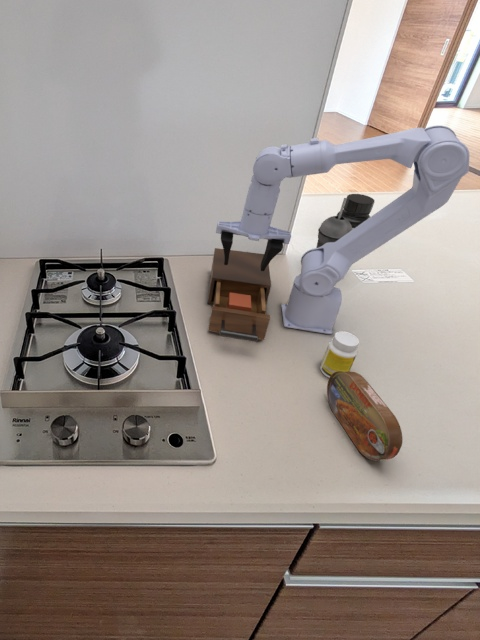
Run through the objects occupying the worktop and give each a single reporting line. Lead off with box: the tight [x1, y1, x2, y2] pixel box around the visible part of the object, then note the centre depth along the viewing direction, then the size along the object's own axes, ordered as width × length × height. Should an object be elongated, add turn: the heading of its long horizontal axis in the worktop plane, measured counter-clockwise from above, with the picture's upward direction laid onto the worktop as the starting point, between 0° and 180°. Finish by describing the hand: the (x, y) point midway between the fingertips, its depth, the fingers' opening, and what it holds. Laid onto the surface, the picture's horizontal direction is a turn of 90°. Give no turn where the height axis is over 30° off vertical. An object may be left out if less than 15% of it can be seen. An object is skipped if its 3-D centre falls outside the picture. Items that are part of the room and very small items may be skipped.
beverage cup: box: [315, 197, 352, 248], centre depth 105 cm, size 7×7×20 cm
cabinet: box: [207, 247, 272, 306], centre depth 102 cm, size 13×12×7 cm
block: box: [227, 293, 251, 312], centre depth 92 cm, size 4×4×4 cm
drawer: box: [207, 281, 271, 343], centre depth 91 cm, size 17×11×6 cm, turn 165°
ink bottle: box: [335, 193, 375, 230], centre depth 123 cm, size 10×9×12 cm
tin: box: [326, 371, 403, 462], centre depth 69 cm, size 15×3×8 cm, turn 5°
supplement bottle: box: [319, 330, 360, 379], centre depth 80 cm, size 5×5×8 cm
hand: (243, 265), depth 94 cm, fingers open, 7 cm apart
